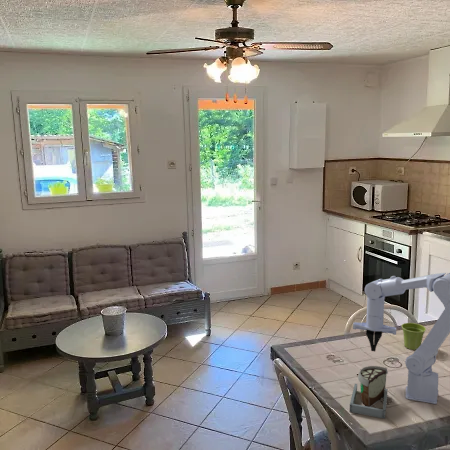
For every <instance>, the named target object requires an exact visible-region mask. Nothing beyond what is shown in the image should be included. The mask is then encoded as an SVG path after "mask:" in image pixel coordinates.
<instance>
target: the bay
mask: <svg viewBox="0 0 450 450" xmlns="http://www.w3.org/2000/svg"><path fill="white" fill-rule="evenodd" d="M357 392H358V383H354V385H353V390H352V394H351V397H350V401H349V412H350V413H354V414H360V415H365V416H370V417H373V418H374V417H375V418H380V419H386V410H387V402H388V388H385V394H384V398H383V403H382V408H377V407H373V406H371V407H367V406H365V405H363V404H356V403H355V401H356V398H357Z"/></svg>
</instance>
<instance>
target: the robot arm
mask: <svg viewBox="0 0 450 450" xmlns="http://www.w3.org/2000/svg"><path fill="white" fill-rule="evenodd" d="M424 288H426V289H427V290H428V291H429V292H430V293H431V292H433V293H434V294H435V296H436V297H437V298H438V299H439V301H440V302H441V303H442V305H443V306H444V309H443V311H442V313H441V314H440V316H439V317H438V318H437V320H436V321H435V323H434V325H433V326H432V328H431V329H430V331H429V332H428V334H427V335H426V336H425V338H424V340H422V342H421V345H420V346H419V347H418V348H417V349H415V350H414V351H413V353H412V354H410V355H408V356H407V357H406V358H405V362H404V363H405V366H406V369H407V370H408V371H407V372H408V373H407V385H406V386H405V399H406V400H410V401H416V402H422V403H428V404H434V405H437V404H438V396H439V373H438V372H436V371H433V368H432V366H434V364H436V361H437V355H438V353H439V349H440V348H441V346H442V345H443V343H444V342H445V341H446V339H447V338H448V336H449V335H450V272H441V273H432V274H428V275H421V276H417V277H412V278H408V279H403V278H402V277H399V276H397V277H396V275H392V276H390V278H386V279H383V278H379V279H376V280H373V281H371V282H369V283H367V284H366V285H365V287H364V294H365V295H366V297H367V298H366V301H367V302H366V319H365V320H366V322H357V321H355V322H353V323H352V324H353V325H352V329H353V330H361V331H362V330H363V331H365V332H366V333H365V334H366V337H367V339H368V342H369V345H370V351H371V352H376V350H377V347H378V346H377V345H378V343H379V341H380V340H381V338H382V336H383V333H385V334H392V335H397V327H394V326H390V325H387V324H384V316H385V315H384V314H385V313H384V312H385V298H386V297H390V296H397V295H398V296H399V295H403V294H404V293H405V292H406V290H414V289H424Z"/></svg>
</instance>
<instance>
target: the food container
mask: <svg viewBox="0 0 450 450" xmlns="http://www.w3.org/2000/svg"><path fill="white" fill-rule="evenodd" d="M388 374H389V373H388V368H386V367H385V366H384V367H383V366H377V365H368V366H364V367H362V368H361V369H360V370H359V373H358V375H357V379H358V382H360V401H361V402H360V403H361V404H362V406H367V407H373V406H374V405H375V404H377V403H379V402H380V401H381V400H383V399H384V394H385V389H386V383H387V375H388Z"/></svg>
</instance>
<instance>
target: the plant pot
mask: <svg viewBox="0 0 450 450" xmlns="http://www.w3.org/2000/svg"><path fill="white" fill-rule="evenodd" d="M401 328H402V332H403V333H402V334H403V342H404V343H403V345H404V347H405V348H406V349H408V350H413V351H416V350H417V348H418V347H419V346H420V345H421V344H422V343H423V337H424V334H425V332H427V328H426V327H425V326H424V325H422V324H419V323H415V322H405V323H404V322H403V324H401Z"/></svg>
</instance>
